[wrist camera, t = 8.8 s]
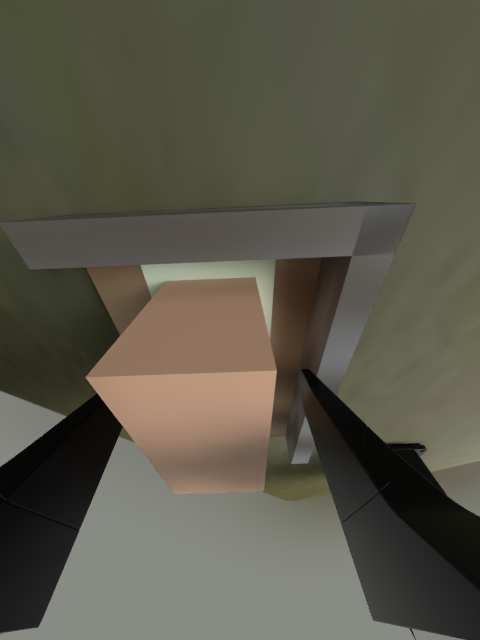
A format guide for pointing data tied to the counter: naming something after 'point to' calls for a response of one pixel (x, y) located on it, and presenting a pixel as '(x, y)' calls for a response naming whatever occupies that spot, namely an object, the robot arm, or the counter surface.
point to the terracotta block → (196, 385)
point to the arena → (242, 275)
